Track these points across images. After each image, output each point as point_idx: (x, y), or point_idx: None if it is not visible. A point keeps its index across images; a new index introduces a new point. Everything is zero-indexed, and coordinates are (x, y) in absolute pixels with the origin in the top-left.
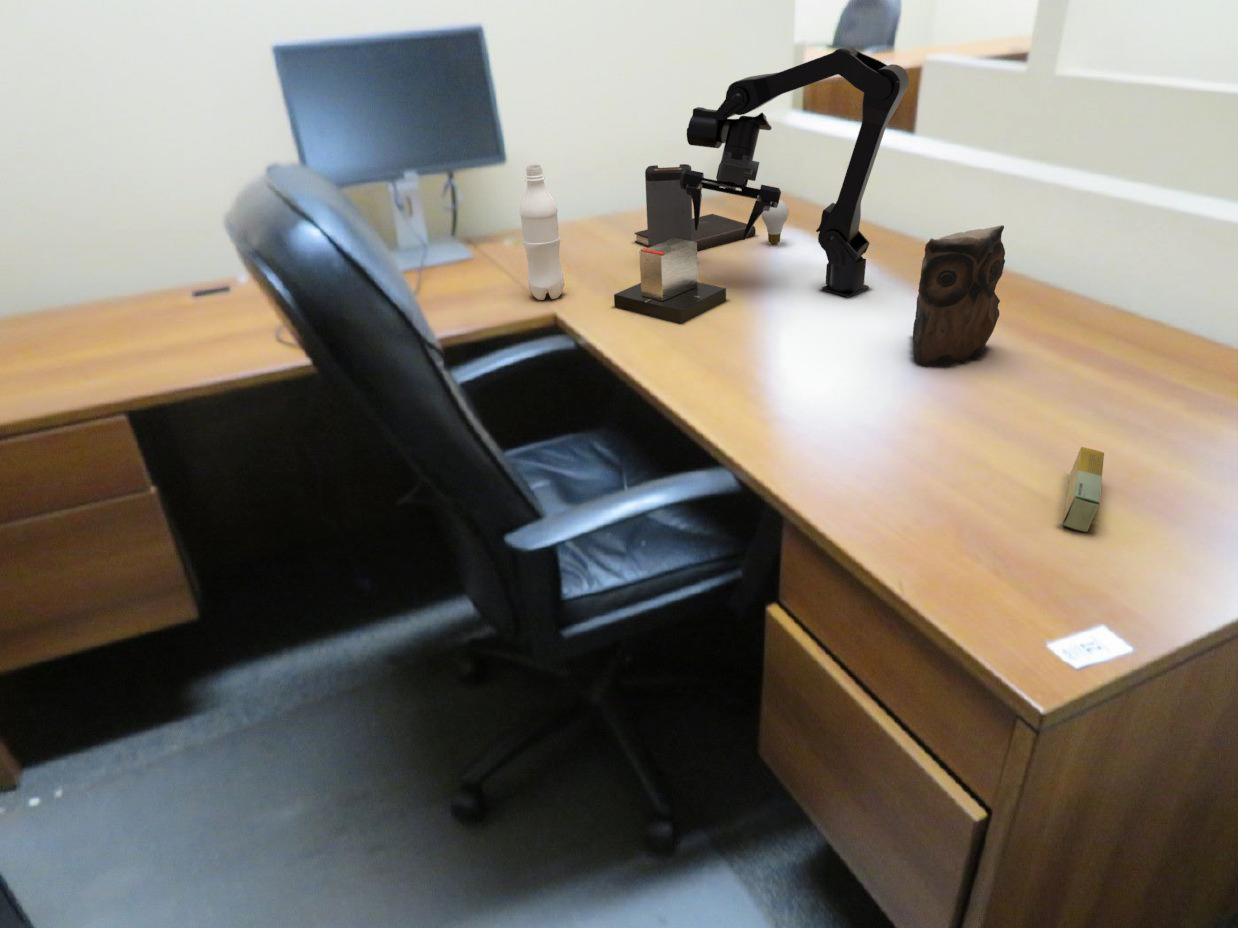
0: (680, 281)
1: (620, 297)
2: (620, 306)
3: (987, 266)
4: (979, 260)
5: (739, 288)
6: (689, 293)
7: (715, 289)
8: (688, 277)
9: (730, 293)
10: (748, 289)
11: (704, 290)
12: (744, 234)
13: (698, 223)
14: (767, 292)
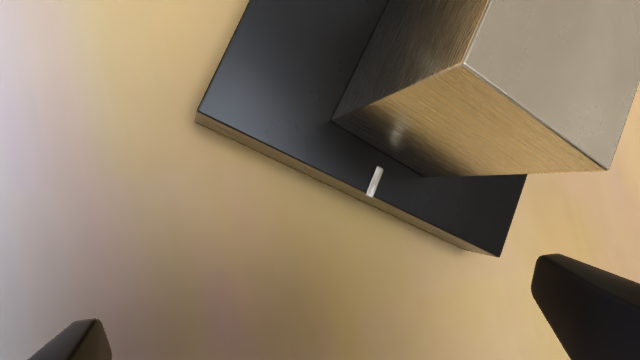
0: (404, 4)
1: None
2: None
3: None
4: None
5: (164, 289)
6: (344, 31)
7: (244, 87)
8: (383, 49)
9: (193, 217)
10: (116, 285)
11: (290, 71)
12: (69, 344)
13: (577, 305)
14: (4, 261)
